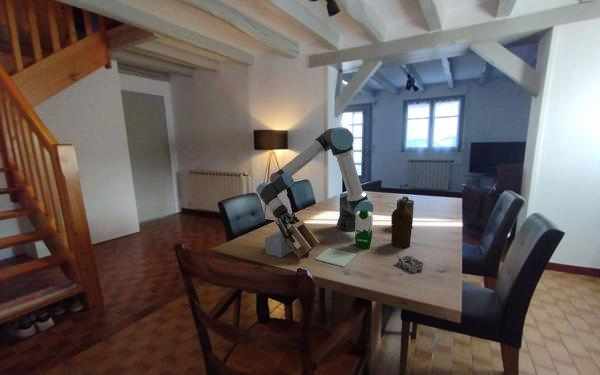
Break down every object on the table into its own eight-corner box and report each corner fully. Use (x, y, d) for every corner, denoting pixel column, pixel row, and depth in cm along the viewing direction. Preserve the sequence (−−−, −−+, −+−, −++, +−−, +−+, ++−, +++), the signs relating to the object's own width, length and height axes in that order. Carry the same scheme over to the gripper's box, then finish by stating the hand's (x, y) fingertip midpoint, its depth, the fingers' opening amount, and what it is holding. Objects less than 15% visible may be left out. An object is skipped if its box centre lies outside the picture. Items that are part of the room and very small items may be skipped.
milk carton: (353, 247, 141) (354, 210, 137) (356, 241, 149) (356, 206, 146) (371, 249, 138) (372, 212, 134) (372, 243, 146) (373, 207, 143)
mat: (329, 248, 140) (329, 247, 140) (356, 255, 132) (356, 254, 132) (315, 259, 128) (315, 258, 128) (344, 267, 120) (344, 266, 119)
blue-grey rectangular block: (265, 253, 136) (264, 238, 135) (284, 242, 149) (283, 229, 148) (281, 257, 131) (280, 241, 129) (299, 246, 144) (299, 232, 142)
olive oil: (414, 248, 139) (417, 201, 134) (394, 248, 139) (396, 201, 134) (406, 240, 149) (409, 196, 145) (387, 241, 149) (389, 197, 145)
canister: (414, 230, 166) (416, 198, 162) (396, 229, 168) (398, 198, 165) (410, 225, 176) (412, 195, 173) (394, 224, 179) (395, 194, 175)
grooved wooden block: (282, 254, 135) (281, 222, 132) (292, 248, 142) (292, 218, 139) (310, 261, 126) (310, 228, 123) (319, 254, 133) (319, 223, 130)
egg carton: (395, 263, 123) (395, 254, 123) (408, 260, 126) (409, 252, 125) (411, 273, 113) (411, 264, 113) (425, 270, 116) (426, 261, 115)
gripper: (286, 208, 148) (311, 241, 142) (260, 218, 130) (287, 256, 125) (294, 199, 145) (320, 233, 139) (268, 208, 127) (296, 247, 121)
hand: (304, 244), depth 132 cm, fingers closed on grooved wooden block, 9 cm apart
